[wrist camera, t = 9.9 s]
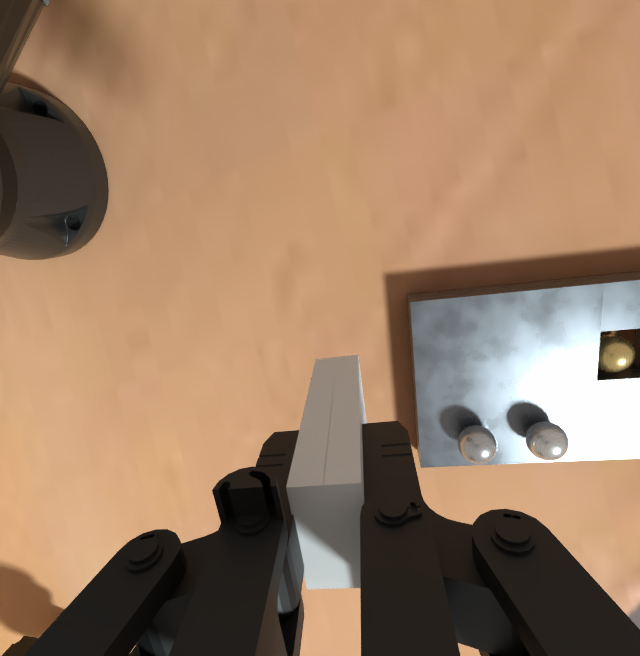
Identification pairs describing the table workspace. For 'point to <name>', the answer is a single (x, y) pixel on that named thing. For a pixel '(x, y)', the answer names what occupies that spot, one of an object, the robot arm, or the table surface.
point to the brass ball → (615, 353)
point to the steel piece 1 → (477, 444)
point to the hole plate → (525, 367)
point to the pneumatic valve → (20, 646)
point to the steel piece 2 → (547, 440)
